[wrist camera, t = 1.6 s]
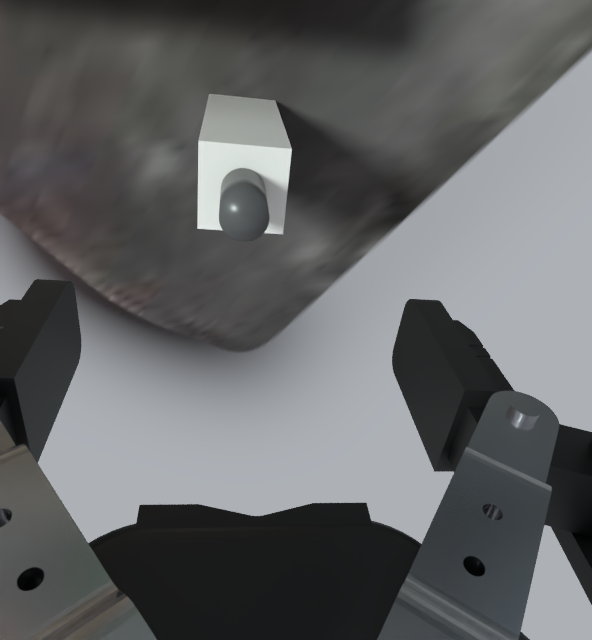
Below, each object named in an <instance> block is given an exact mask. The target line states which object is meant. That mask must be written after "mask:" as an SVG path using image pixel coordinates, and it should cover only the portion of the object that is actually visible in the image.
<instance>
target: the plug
mask: <svg viewBox="0 0 592 640" xmlns="http://www.w3.org/2000/svg"><path fill="white" fill-rule="evenodd" d="M291 153H292V148H291V145H290V142H289V139H288V136H287V133H286V130H285V127H284V124H283V122H282V119H281V116H280V113H279V110H278V107H277V104H276V101H275V100H265V99H256V98H246V97H236V96H226V95H217V94H209V97H208V102H207V106H206V110H205V115H204V119H203V123H202V128H201V132H200V137H199V146H198V229H211V230H223V231H224V232H225V234H227V235H228V236H229V237H230V238H232V239H234V240H237V241H252V240H255V239H257V238H258V237H260V236H261V235H262V234H263V233H272V234H283V228H284V219H285V209H286V200H287V191H288V181H289V172H290V163H291Z"/></svg>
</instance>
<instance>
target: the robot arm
mask: <svg viewBox="0 0 592 640" xmlns="http://www.w3.org/2000/svg"><path fill="white" fill-rule="evenodd" d="M80 353H81V334H80V326H79V319H78V311H77V303H76V295H75V288H74V285H73V283H72V282H71V281H59V280H39V279H37V280H35V281H34V282H33V284H32V285H31V286H30V288H29V289H28V291H27V292H26V294H25V295H24V297H23V298H22V300H8V301H7V302H5V303H3V304H2V305H0V640H530V639H528V638H527V637H526V636H525V635H524V634H523V633H522V632H521V626H522V622H523V618H524V613H525V608H526V604H527V600H528V595H529V591H530V586H531V582H532V577H533V572H534V568H535V564H536V559H537V555H538V550H539V546H540V541H541V537H542V532H543V528H544V525H548V526H551V527H552V530H553V531H554V533H555V535H556V537H557V539H558V541H559V543H560V545H561V547H562V549H563V551H564V553H565V555H566V556H567V558H568V560H569V562H570V564H571V566H572V568H573V570H574V572H575V574H576V576H577V578H578V579H579V581H580V583H581V585H582V587H583V589H584V591H585V593H586V595H587V597H588V598H589V601H590V603H591V604H592V432H589V431H584V430H580V429H576V428H572V427H568V426H564V425H560V424H559V421H558V419H557V417H556V415H555V414H554V412H553V411H552V410H551V409H550V408H549V407H548V406H546V405H545V404H544V403H542V402H541V401H539V400H538V399H536V398H534V397H532V396H530V395H527V394H524V393H520V392H516V391H514V390H513V388H512V387H511V385H510V384H509V382H508V381H507V380H506V378H505V377H504V375H503V374H502V373H501V371H500V369H499V368H498V367H497V365H496V364H495V362H494V361H493V359H490V355H489V353H488V352H487V351H486V349H485V348H483V345H482V343H481V342H480V340H479V339H478V338H477V336H476V335H475V333H474V332H473V331H471V330H470V329H469V328H467V327H466V326H465V325H464V324H462V323H461V322H459V321H457V320H452V318H451V317H450V315H449V314H448V312H447V311H446V309H445V308H444V306H443V305H442V303H441V302H440V301H438V300H418V299H409V300H408V301H407V303H406V305H405V308H404V311H403V315H402V319H401V322H400V326H399V330H398V334H397V337H396V341H395V345H394V349H393V356H392V365H393V371H394V374H395V377H396V379H397V381H398V384H399V386H400V389H401V391H402V393H403V396H404V399H405V401H406V403H407V406H408V408H409V411H410V413H411V416H412V418H413V420H414V423H415V425H416V428H417V430H418V433H419V435H420V437H421V440H422V442H423V445H424V447H425V450H426V452H427V454H428V457H429V459H430V461H431V464H432V467H433V469H434V471H454V475H453V477H452V479H451V481H450V484H449V486H448V488H447V490H446V492H445V494H444V497H443V499H442V501H441V503H440V505H439V508H438V510H437V512H436V514H435V516H434V518H433V521H432V523H431V525H430V528H429V530H428V532H427V534H426V536H425V538H424V541H423V543H422V544H421V543H419V542H418V541H416V540H415V539H413V538H412V537H410V536H408V535H406V534H404V533H403V532H401V531H399V530H396V529H394V528H392V527H390V526H387V525H384V524H381V523H378V522H374V521H371V519H370V515H369V511H368V508H367V503H312V504H308V505H304V506H301V507H296V508H293V509H288V510H284V511H280V512H276V513H272V514H268V515H264V516H250V515H245V514H240V513H236V512H231V511H227V510H222V509H217V508H213V507H208V506H203V505H199V504H194V505H192V504H191V505H190V504H187V505H140V507H139V512H138V518H137V523H136V524H133V525H129V526H125V527H122V528H120V529H117V530H114V531H111V532H110V533H107V534H105V535H103V536H101V537H99V538H97V539H95V540H93V541H92V542H90V543H88V542H87V541H86V539H85V538H84V536H83V535H82V533H81V531H80V530H79V529H78V527H77V525H76V523H75V522H74V520H73V519H72V517H71V516H70V514H69V512H68V511H67V509H66V508H65V507H64V504H63V503H62V501H61V500H60V498H59V497H58V495H57V494H56V492H55V490H54V489H53V487H52V486H51V484H50V482H49V481H48V479H47V478H46V476H45V474H44V473H43V471H42V470H41V468H40V467H39V465H38V461H39V458H40V456H41V453H42V451H43V448H44V446H45V444H46V441H47V439H48V436H49V434H50V431H51V429H52V426H53V424H54V422H55V419H56V417H57V414H58V412H59V409H60V407H61V405H62V402H63V400H64V397H65V395H66V392H67V390H68V387H69V385H70V383H71V380H72V378H73V375H74V373H75V370H76V368H77V366H78V363H79V359H80Z"/></svg>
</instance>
